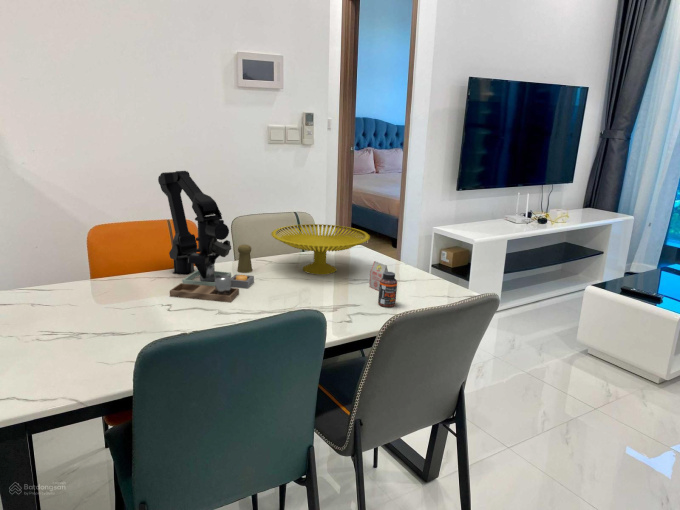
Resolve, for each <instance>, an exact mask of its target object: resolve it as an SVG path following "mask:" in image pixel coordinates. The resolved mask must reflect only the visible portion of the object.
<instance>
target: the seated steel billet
mask: <svg viewBox="0 0 680 510" xmlns="http://www.w3.org/2000/svg"><path fill="white" fill-rule="evenodd" d="M231 278H232V275H231V276H229V275H218V276H216V277H215V294H216V295H227V296H230V295H231V288H232V287H231Z"/></svg>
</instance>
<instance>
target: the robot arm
mask: <svg viewBox="0 0 680 510" xmlns="http://www.w3.org/2000/svg"><path fill="white" fill-rule="evenodd" d="M157 180H158V185H159V186H160V189H161V191H162V193H164V195H165V196H166V197H167V201H168V206H169V211H170V214H171V218H172V219H171V221H172V224H173V229H174V234H175V235H174V236H173V239H172V247H171V249H170V250H169V253H168V255H169V258H170V259H172V260H173V272H172V274H174V275H183V276H189V275H191V274H192V273H194V272H195V271H196V270H198V271H199V273H200V274H201V276H202V278H203V279H205V278H206V273H207V265H208V264H209V263H214V265H216V264H215V263H216V260H217V258H219V257H222V258H225V257H227V256H228V255H229V253H230V250H232V246H231V241H230V240H228V239H227V237H229V233H230V229H229V227H228V225H227V224H226V223H225V221H224V220H223V216H222V215H223V214H222V212H221V211H220V208H219V206H218V204H217V202H216V200H215V199H213V197H212V196H210V195H208V194H205V193H204V192H203V191H202V190H201V188H200V187H199V186H198V185H197V183H196V182H195V180H193V178H192V176H190V172H189V171H188V170H175V171H167V172H165V171H164V172H161V173H160V174H159V175H158V179H157ZM182 191H183V192H184V193H185V194H186V196H187V197H188V199H189V200H190V201H191V203H192V204H191V208H192V210H193V213H194V214H195V218H194V220H195V222H196V221H197V237H196V235H195V234H192V233H191V232H190V231H189V227H188V222H187V217H186V213H185V207H184V203H183V199H182V194H181V193H182ZM225 239H226V240H225ZM223 240H224V241H223ZM195 267H196V269H195Z"/></svg>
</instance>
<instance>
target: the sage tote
mask: <svg viewBox="0 0 680 510" xmlns="http://www.w3.org/2000/svg"><path fill="white" fill-rule="evenodd" d="M218 275H229V276H231V277H232V272H227V271H218V270H215V277H216V276H218ZM197 277H200V273H199V271H198V269H196V270H195V271H193V272H192V273H190V274H189V275H187V276H186V277H185V278H183V279H182V280H181V282H182V283H184V284H195V285H206V286H215V282H204V281H200V280H194V279H196V278H197Z"/></svg>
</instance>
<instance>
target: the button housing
mask: <svg viewBox="0 0 680 510" xmlns="http://www.w3.org/2000/svg"><path fill="white" fill-rule="evenodd" d="M237 275H238V274H237V273H236V274H234V275H233V276H231V288H238V289H249V288H250V287H251V286H252V285H253V284H254V283H255V275H247V274H245V275H246V276H247V280H246V281H244V280H236V276H237Z"/></svg>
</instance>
